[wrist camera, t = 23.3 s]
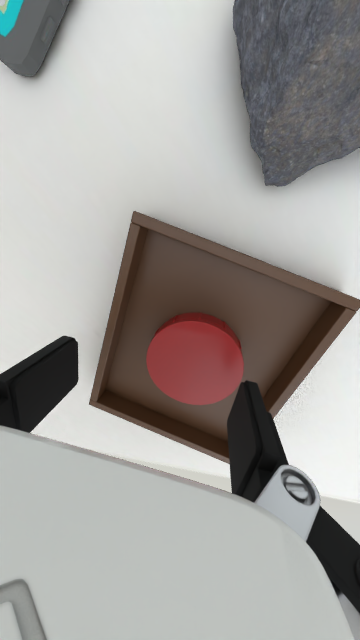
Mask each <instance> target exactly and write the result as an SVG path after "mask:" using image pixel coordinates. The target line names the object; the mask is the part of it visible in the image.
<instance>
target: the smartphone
mask: <svg viewBox="0 0 360 640" xmlns="http://www.w3.org/2000/svg"><path fill="white" fill-rule="evenodd" d="M69 1H70V0H0V60H1V61H2V62H3V63H4V64H5V65H7V66H8V67H9V68H10V69H11V70H13V71H14V72H15V73H17V74H20V75H24V76H33V75H35V74H36V72H37V71H38V70H39V68H40V67H41V64H42V62H43V60H44V58H45V55H46V53H47V51H48V49H49V46H50V44H51V42H52V40H53V37H54V35H55V33H56V31H57V28H58V26H59V24H60V22H61V19H62V17H63V15H64V13H65V10H66V8H67V6H68V4H69Z"/></svg>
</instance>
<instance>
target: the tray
mask: <svg viewBox="0 0 360 640" xmlns="http://www.w3.org/2000/svg"><path fill="white" fill-rule="evenodd" d="M131 222H132V223H131V224H130V228H129V233H128V237H127V241H126V246H125V250H124V254H123V259H122V263H121V267H120V272H119V276H118V280H117V285H116V289H115V293H114V298H113V302H112V306H111V311H110V315H109V320H108V324H107V328H106V333H105V337H104V341H103V346H102V350H101V354H100V359H99V363H98V367H97V372H96V376H95V380H94V385H93V389H92V393H91V398H90V402H89V405H92V406H94V407H96V408H99V409H101V410H103V411H106V412H108V413H111V414H113V415H115V416H118V417H120V418H122V419H125V420H127V421H129V422H132V423H134V424H136V425H139V426H141V427H143V428H146V429H148V430H150V431H153V432H155V433H158V434H160V435H162V436H165V437H167V438H169V439H172V440H174V441H176V442H179V443H181V444H183V445H186V446H188V447H190V448H193V449H195V450H197V451H200V452H202V453H205V454H207V455H209V456H212V457H214V458H216V459H219V460H221V461H223V462H226V463H228V464H230V460H229V447H228V434H227V420H228V416H229V414H230V411H231V408H232V405H233V403H234V400H235V397H236V395H237V392H238V389H239V386H240V384H241V382H245V381H246V380H248V381H252V382H256V383H257V384H258V387H259V390H260V393H261V396H262V399H263V402H264V405H265V408H266V412H269V413H271V415H272V418H274V417H275V415H276V414H277V413H278V412H279V410H280V409H281V408H282V407H283V405H284V404H285V403H286V401H287V400H288V399H289V398H290V396H291V395H292V394H293V392H294V391H295V390H296V389H297V387H298V386H299V385H300V384H301V382H302V381H303V380H304V378H305V377H306V376H307V375H308V373H309V372H310V371H311V369H312V368H313V367H314V366H315V364H316V363H317V362H318V361H319V359H320V358H321V357H322V355H323V354H324V353H325V352H326V350H327V349H328V348H329V346H330V345H331V344H332V343H333V341H334V340H335V339H336V338H337V336H338V335H339V334H340V332H341V331H342V330H343V329H344V327H345V326H346V325H347V324H348V322H349V321H350V320H351V318H352V317H353V316H354V315H355V313H356V311H358V309H359V308H360V300H359V299H357V298H354V297H352V296H349V295H347V294H344V293H342V292H339V291H337V290H334V289H332V288H329V287H327V286H324V285H322V284H319V283H316V282H314V281H311V280H309V279H306V278H304V277H301V276H299V275H296V274H294V273H291V272H289V271H286V270H284V269H281V268H278V267H276V266H273V265H271V264H268V263H266V262H263V261H261V260H258V259H256V258H253V257H251V256H248V255H245V254H243V253H240V252H238V251H235V250H233V249H230V248H228V247H225V246H223V245H220V244H218V243H215V242H212V241H210V240H207V239H205V238H202V237H200V236H197V235H195V234H192V233H190V232H187V231H185V230H182V229H179V228H177V227H174V226H172V225H169V224H167V223H164V222H162V221H159V220H157V219H154V218H152V217H149V216H146V215H144V214H141V213H139V212H136V211H134V212H133V215H132V220H131ZM193 312H196V313H200V312H202V313H204V314H208V315H211V316H214V317H216V318H218V319H220V320H221V321H223V322H224V321H225V322H226V324H227V325H228V326H229V327H230V328H231V329H232V330H233V332H234V333H235V335H236V336H237V338H238V340H240V343H241V347H242V349H241V351H242V356H243V361H244V372H243V376H242V379H241V382H240V384H239V385H238V387H237V388H236V390H235V391H234V392H233V393H232V394H230V395H229V396H228V397H226V398H225V399H223V400H221V401H218V402H216V403H212V404H207V405H192V404H186V403H182V402H180V401H177V400H175V399H173V398H171V397H169V396H168V395H166V394H165V393H164V392H162V391H161V390H160V389H159V388H158V387H157V386H156V384H155V383H154V382H153V380H152V378H151V376H150V374H149V371H148V368H147V362H146V357H147V350H148V347H149V345H150V342H151V341H152V339H153V338H154V336H155V335H154V334H155V333H156V331H157V330H158V328H161V326H162V325H163V324H164V323H165V322H167V321H168V320H169V319H171V318H173V317H175V316H176V315H180V314H184V313H193Z"/></svg>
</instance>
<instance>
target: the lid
mask: <svg viewBox="0 0 360 640" xmlns="http://www.w3.org/2000/svg"><path fill="white" fill-rule="evenodd" d="M154 335H155V336H154V338H153V339H152V341H151V342H150V345H149V347H148V350H147V357H146V362H147V368H148V371H149V374H150V376H151V378H152V380H153V382H154V383H155V384H156V386H157V387H158V388H159V389H160V390H161V391H162V392H164V393H165V394H166V395H168V396H169V397H171V398H173V399H175V400H177V401H180V402H182V403H186V404H192V405H207V404H212V403H216V402H218V401H221V400H223V399H225V398H226V397H228V396H229V395H230V394H232V393H233V392H234V391H235V390H236V388H237V387H238V385H239V384H240V382H241V379H242V376H243V372H244V361H243V356H242V351H241V349H242V347H241V343H240V340H238V338H237V336H236V335H235V333H234V332H233V330H232V329H231V328H230V327H229V326H228V325H227V324H226V322H225V321H224V322H223V321H221V320H220V319H218V318H216V317H214V316H211V315H208V314H204V313H202V312H200V313H196V312H193V313H184V314H180V315H176V316H175V317H173V318H171V319H169V320H168V321H167V322H165V323H164V324H163V325H162V326H161V328H158V330H157V331H156V333H155V334H154Z"/></svg>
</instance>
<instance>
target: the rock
mask: <svg viewBox="0 0 360 640" xmlns="http://www.w3.org/2000/svg"><path fill="white" fill-rule="evenodd" d="M233 28H234V31H235V34H236V37H237V46H238V51H239V57H240V69H241V85H242V88H243V90H244V99H245V102H246V106H247V110H248V113H249V116H250V120H251V126H250V140H251V145H252V148H253V149H254V151H255V152H256V153H257V154H258V156H259V158H260V159H261V161H262V168H263V174H264V179H265V185H266V186H267V185H275V186H277V187H278V186H285V185H287V184H289V183H291V182H292V181H294V180H295V179H296V178H297V177H299V176H301V175H303V174H304V173H306V172H307V171H308V170H310V169H312V168H313V167H315V166H317V165H320V164H323V163H326V162H328V161H331V160H333V159H339V158H342V157H344V156H346V155H348V154H349V153H351V152H353V151H354V150H356V149H357V148H360V0H235V3H234V7H233Z"/></svg>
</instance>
